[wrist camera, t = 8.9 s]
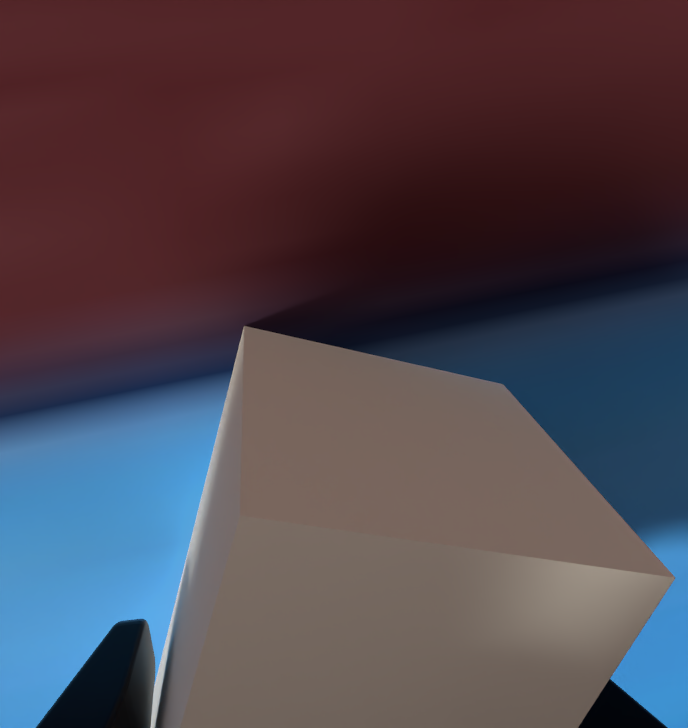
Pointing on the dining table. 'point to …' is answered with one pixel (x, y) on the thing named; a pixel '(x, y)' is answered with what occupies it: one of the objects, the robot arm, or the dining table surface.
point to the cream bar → (394, 557)
